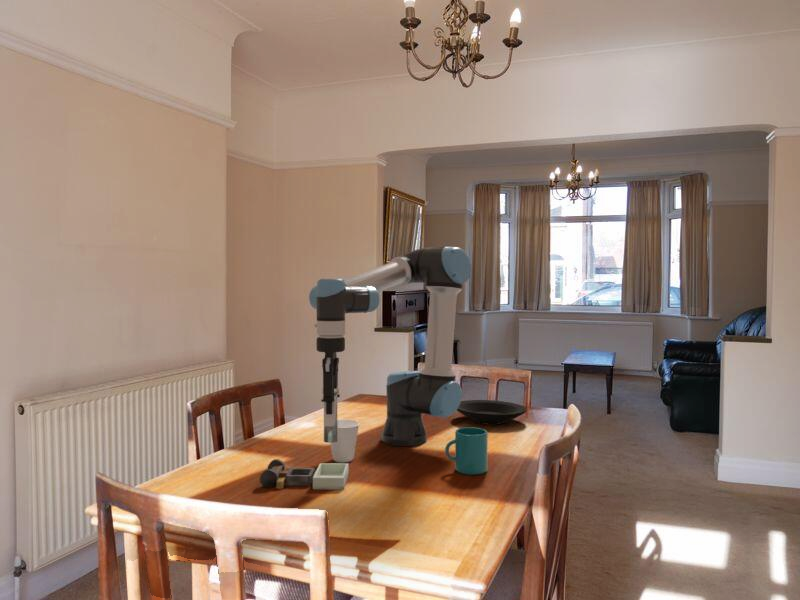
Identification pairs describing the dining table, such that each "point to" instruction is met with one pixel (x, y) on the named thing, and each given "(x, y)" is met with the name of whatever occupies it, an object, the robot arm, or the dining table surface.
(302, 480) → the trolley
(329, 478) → the tray
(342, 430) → the cup
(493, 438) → the dining table surface
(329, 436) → the pin
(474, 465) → the cup
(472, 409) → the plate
